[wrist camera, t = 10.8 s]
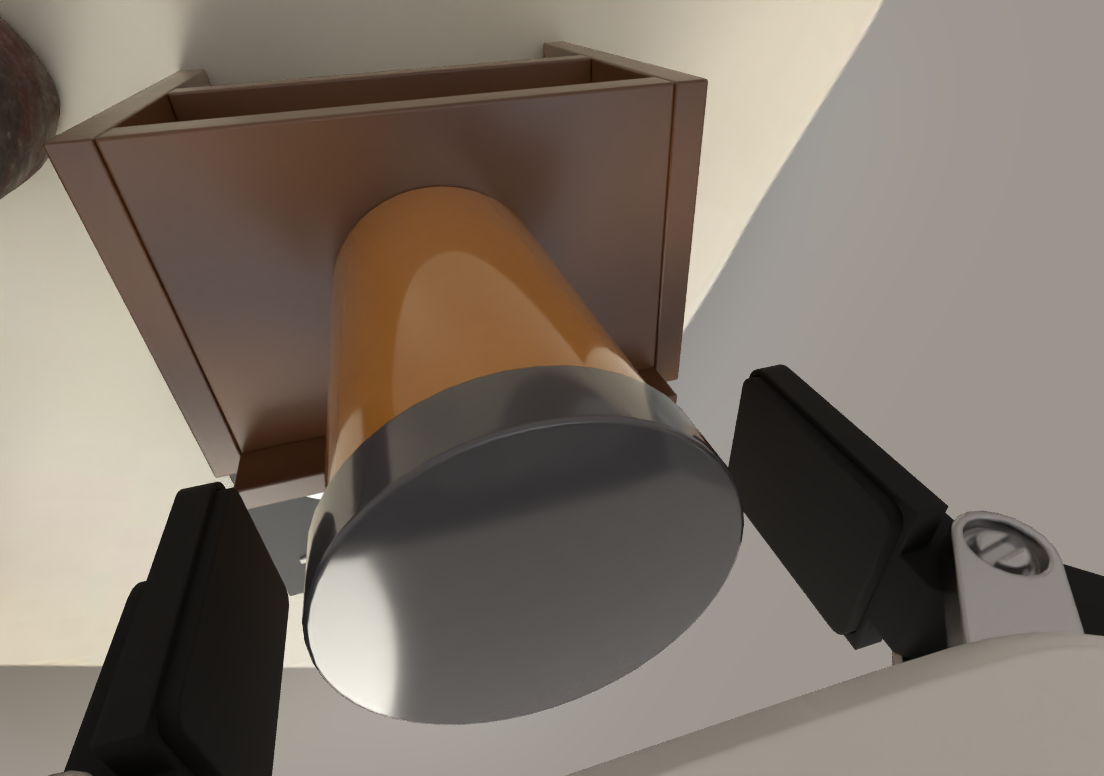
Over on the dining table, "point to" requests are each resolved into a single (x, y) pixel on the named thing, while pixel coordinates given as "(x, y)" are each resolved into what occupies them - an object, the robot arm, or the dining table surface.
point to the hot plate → (286, 536)
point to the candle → (23, 111)
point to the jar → (495, 479)
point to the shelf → (348, 195)
